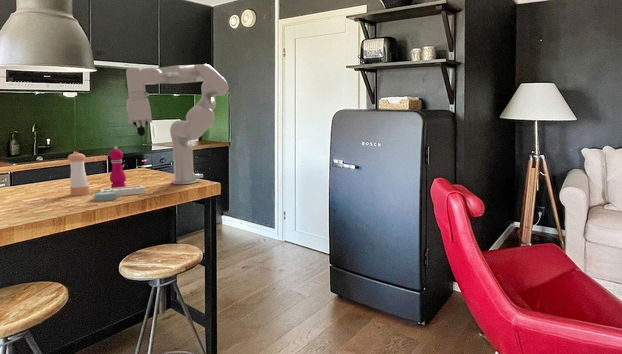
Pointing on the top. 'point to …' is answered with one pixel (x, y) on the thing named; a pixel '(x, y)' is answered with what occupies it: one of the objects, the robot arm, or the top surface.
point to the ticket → (126, 190)
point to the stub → (105, 196)
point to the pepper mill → (117, 169)
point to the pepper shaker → (78, 174)
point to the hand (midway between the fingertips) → (141, 135)
